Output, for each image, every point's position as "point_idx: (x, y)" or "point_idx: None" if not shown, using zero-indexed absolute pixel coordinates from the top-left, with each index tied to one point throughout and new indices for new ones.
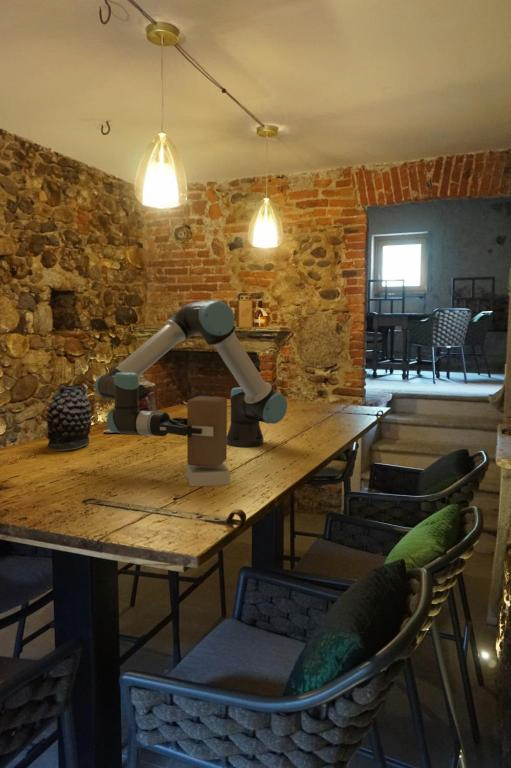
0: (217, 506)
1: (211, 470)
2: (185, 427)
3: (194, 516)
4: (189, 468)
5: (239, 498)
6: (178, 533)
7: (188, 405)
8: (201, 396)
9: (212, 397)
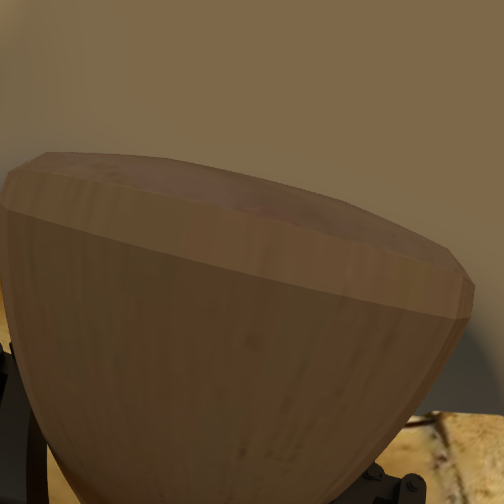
0: (389, 454)
1: None
2: (414, 477)
3: (446, 465)
4: None
5: None
6: (491, 452)
7: (451, 341)
8: (102, 156)
9: (197, 166)
